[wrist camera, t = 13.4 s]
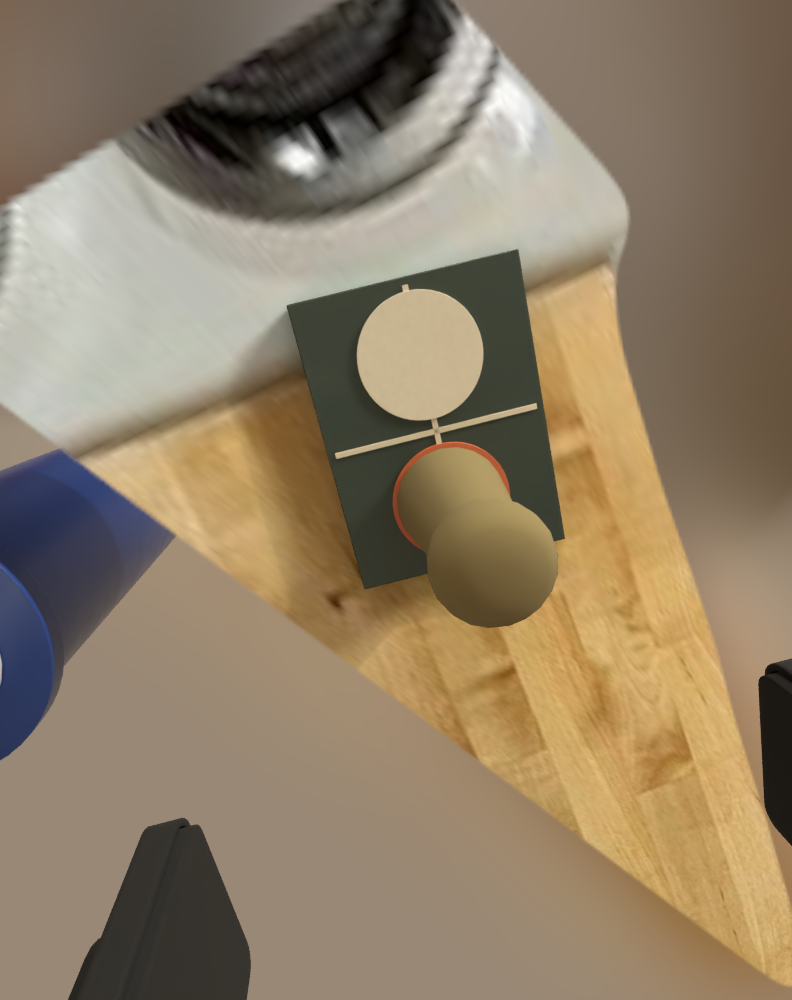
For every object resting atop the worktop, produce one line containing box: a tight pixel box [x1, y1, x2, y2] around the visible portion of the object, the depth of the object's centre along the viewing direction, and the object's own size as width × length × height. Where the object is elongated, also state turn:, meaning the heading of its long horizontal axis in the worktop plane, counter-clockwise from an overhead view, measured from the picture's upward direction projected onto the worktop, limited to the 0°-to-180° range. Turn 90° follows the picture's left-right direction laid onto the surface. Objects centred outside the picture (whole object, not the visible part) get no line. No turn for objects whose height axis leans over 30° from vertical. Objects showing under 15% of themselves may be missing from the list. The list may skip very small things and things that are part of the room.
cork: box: [397, 447, 558, 628], centre depth 27 cm, size 6×6×11 cm
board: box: [287, 249, 565, 589], centre depth 31 cm, size 12×16×1 cm
